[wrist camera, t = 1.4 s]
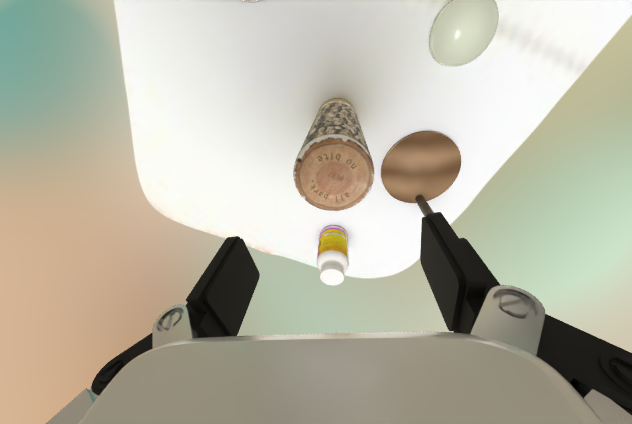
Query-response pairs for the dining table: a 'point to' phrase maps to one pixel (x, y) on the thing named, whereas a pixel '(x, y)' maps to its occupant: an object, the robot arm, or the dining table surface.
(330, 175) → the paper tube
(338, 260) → the supplement bottle
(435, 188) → the holder base
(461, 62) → the sage dish
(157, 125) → the dining table surface
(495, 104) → the dining table surface
